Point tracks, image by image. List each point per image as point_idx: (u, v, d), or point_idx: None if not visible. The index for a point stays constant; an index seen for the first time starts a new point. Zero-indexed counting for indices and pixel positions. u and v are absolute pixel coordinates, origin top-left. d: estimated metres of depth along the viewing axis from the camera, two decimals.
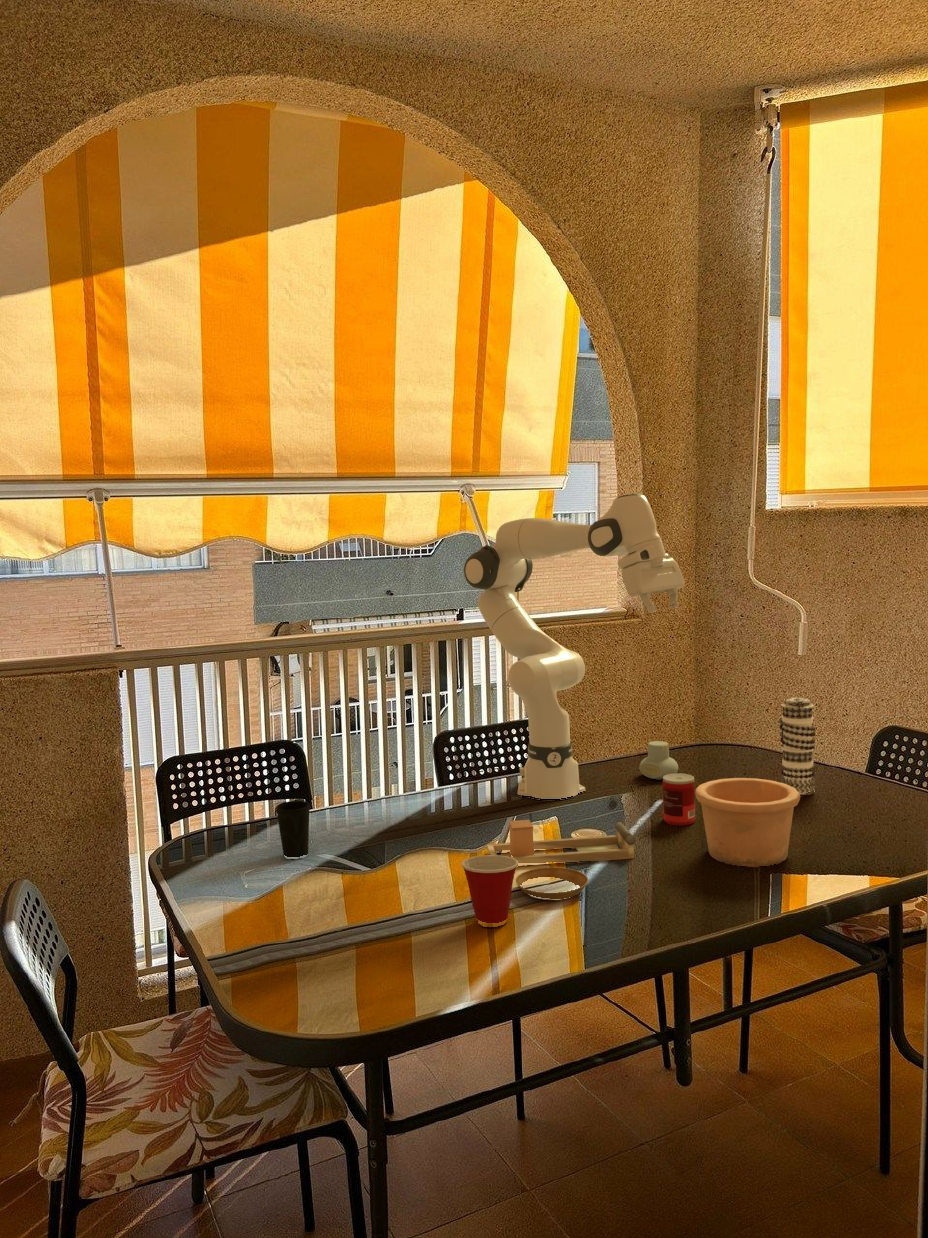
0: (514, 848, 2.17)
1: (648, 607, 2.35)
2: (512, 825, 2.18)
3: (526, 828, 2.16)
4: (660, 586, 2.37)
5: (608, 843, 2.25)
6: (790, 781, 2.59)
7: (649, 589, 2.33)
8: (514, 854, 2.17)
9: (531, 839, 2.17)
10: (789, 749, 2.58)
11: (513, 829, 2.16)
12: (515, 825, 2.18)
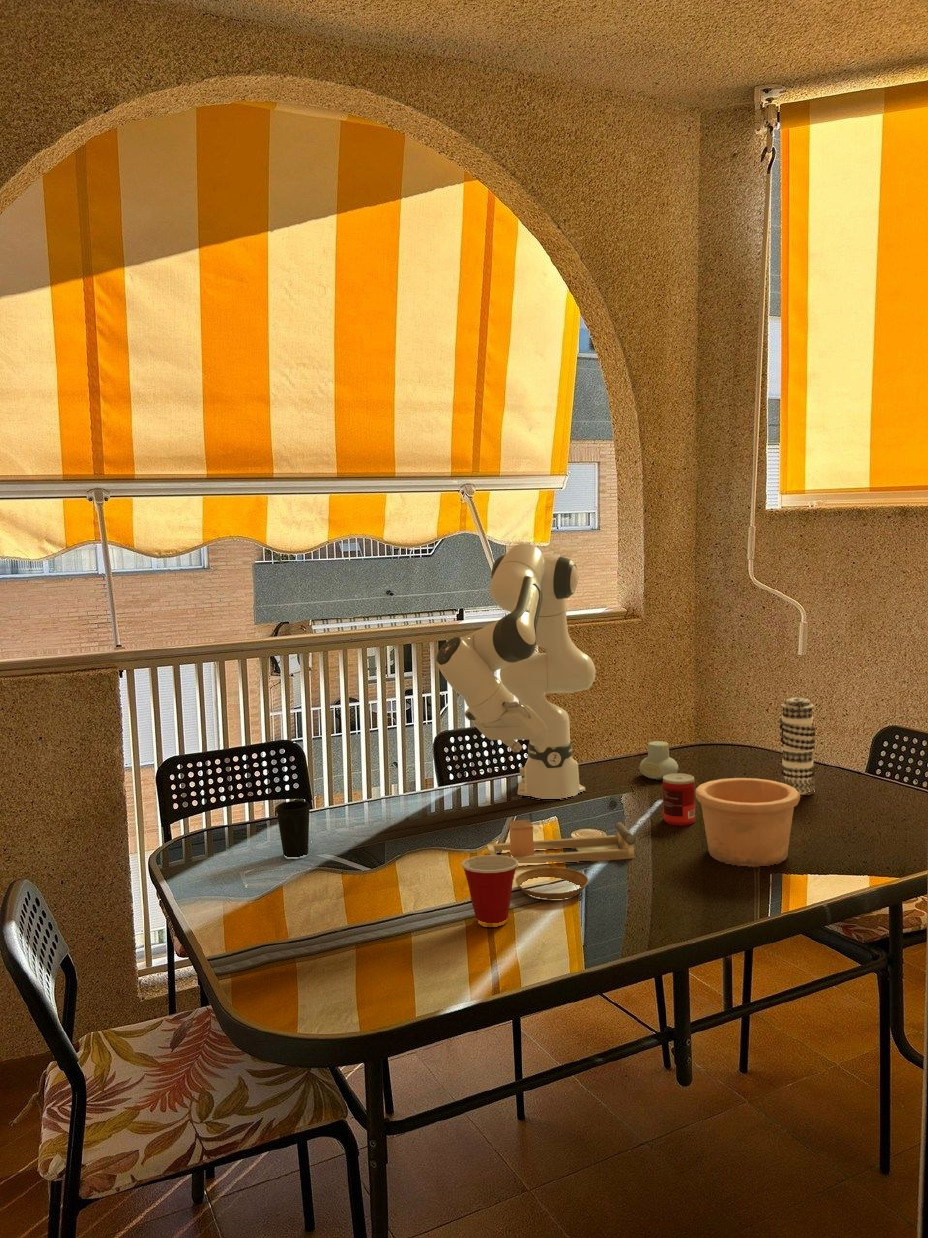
0: (514, 848, 2.17)
1: None
2: (512, 825, 2.18)
3: (526, 828, 2.16)
4: (507, 738, 2.11)
5: (608, 843, 2.25)
6: (790, 781, 2.59)
7: (496, 738, 2.16)
8: (514, 854, 2.17)
9: (531, 839, 2.17)
10: (789, 749, 2.58)
11: (513, 829, 2.16)
12: (515, 825, 2.18)
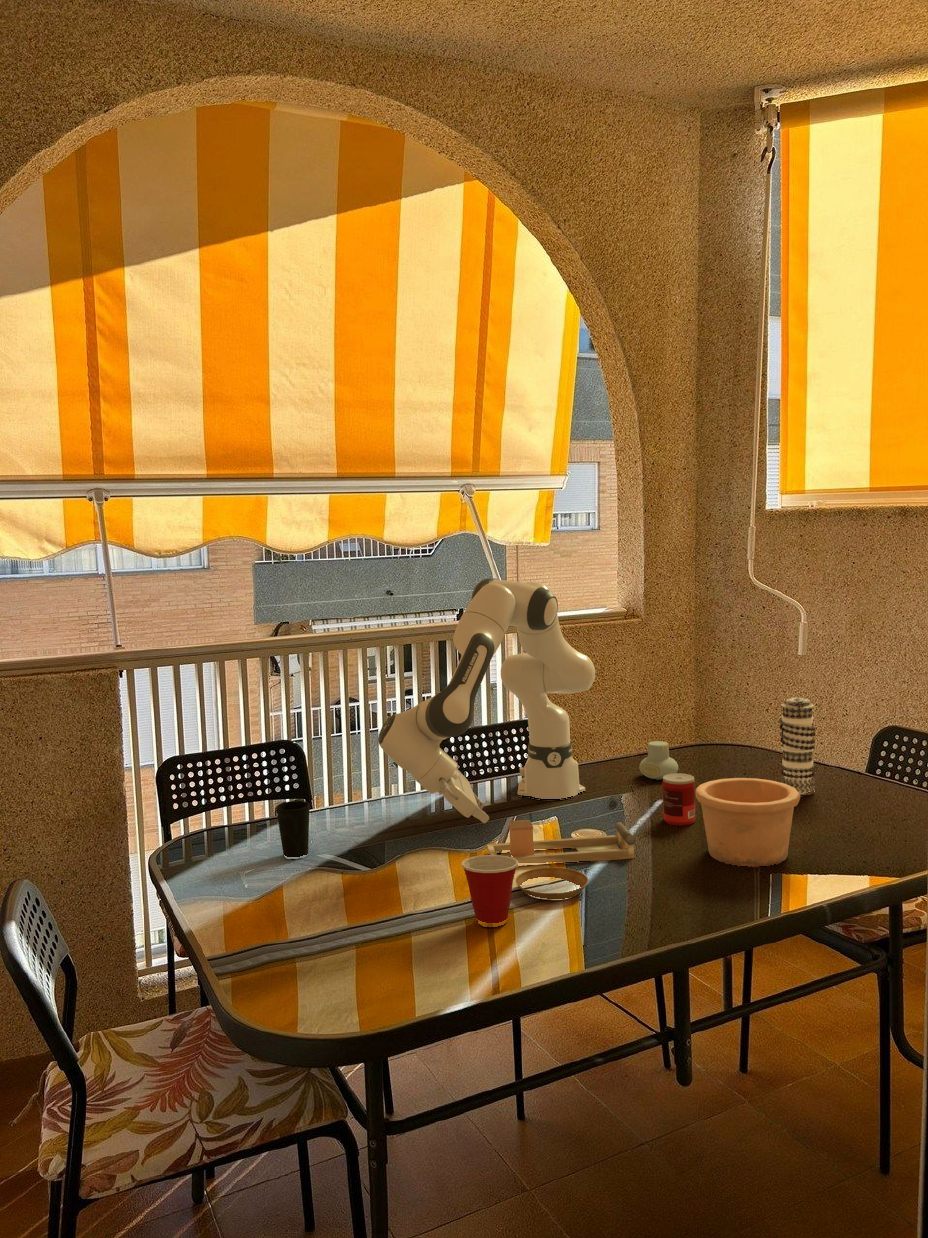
0: (514, 848, 2.17)
1: None
2: (512, 825, 2.18)
3: (526, 828, 2.16)
4: None
5: (608, 843, 2.25)
6: (790, 781, 2.59)
7: None
8: (514, 854, 2.17)
9: (531, 839, 2.17)
10: (789, 749, 2.58)
11: (513, 829, 2.16)
12: (515, 825, 2.18)
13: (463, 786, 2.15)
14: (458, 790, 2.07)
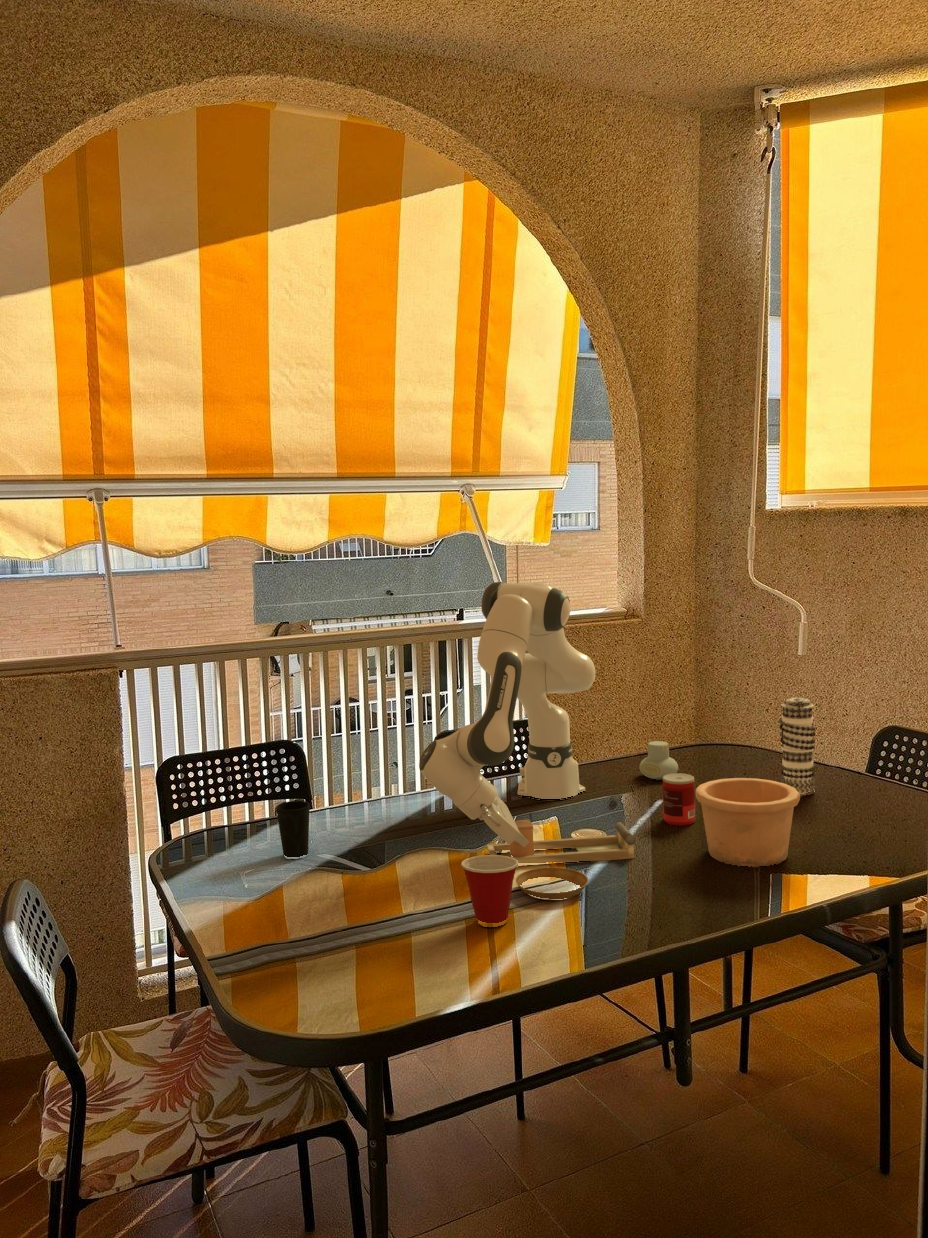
0: (514, 848, 2.17)
1: None
2: None
3: (526, 828, 2.16)
4: None
5: (608, 843, 2.25)
6: (790, 781, 2.59)
7: None
8: (514, 854, 2.17)
9: (531, 838, 2.17)
10: (789, 749, 2.58)
11: None
12: None
13: (503, 812, 2.16)
14: (500, 817, 2.08)
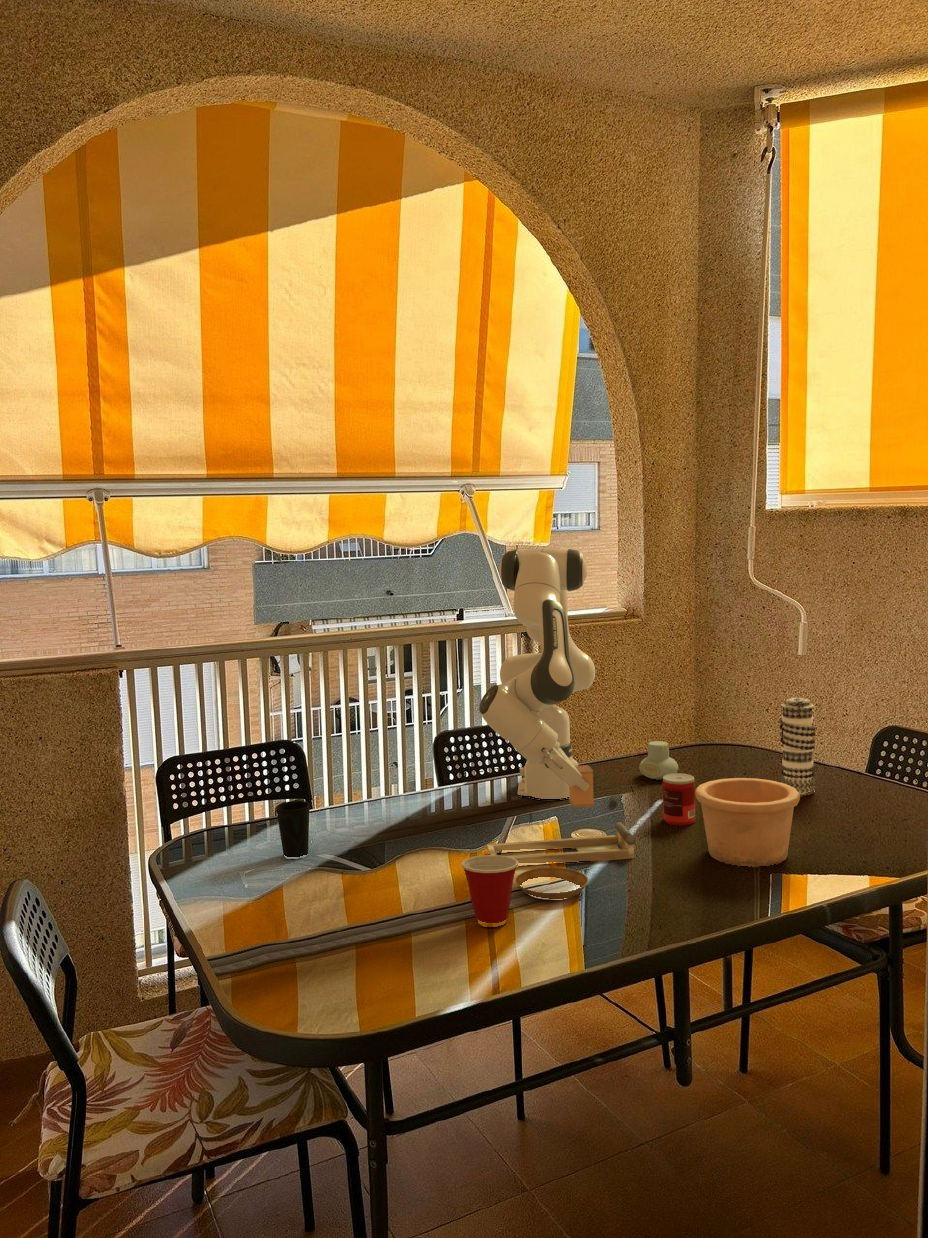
0: (574, 792, 2.17)
1: None
2: None
3: (587, 773, 2.17)
4: None
5: (608, 843, 2.25)
6: (790, 781, 2.59)
7: None
8: (574, 798, 2.17)
9: (591, 783, 2.17)
10: (789, 749, 2.58)
11: None
12: None
13: (564, 756, 2.16)
14: (562, 759, 2.09)
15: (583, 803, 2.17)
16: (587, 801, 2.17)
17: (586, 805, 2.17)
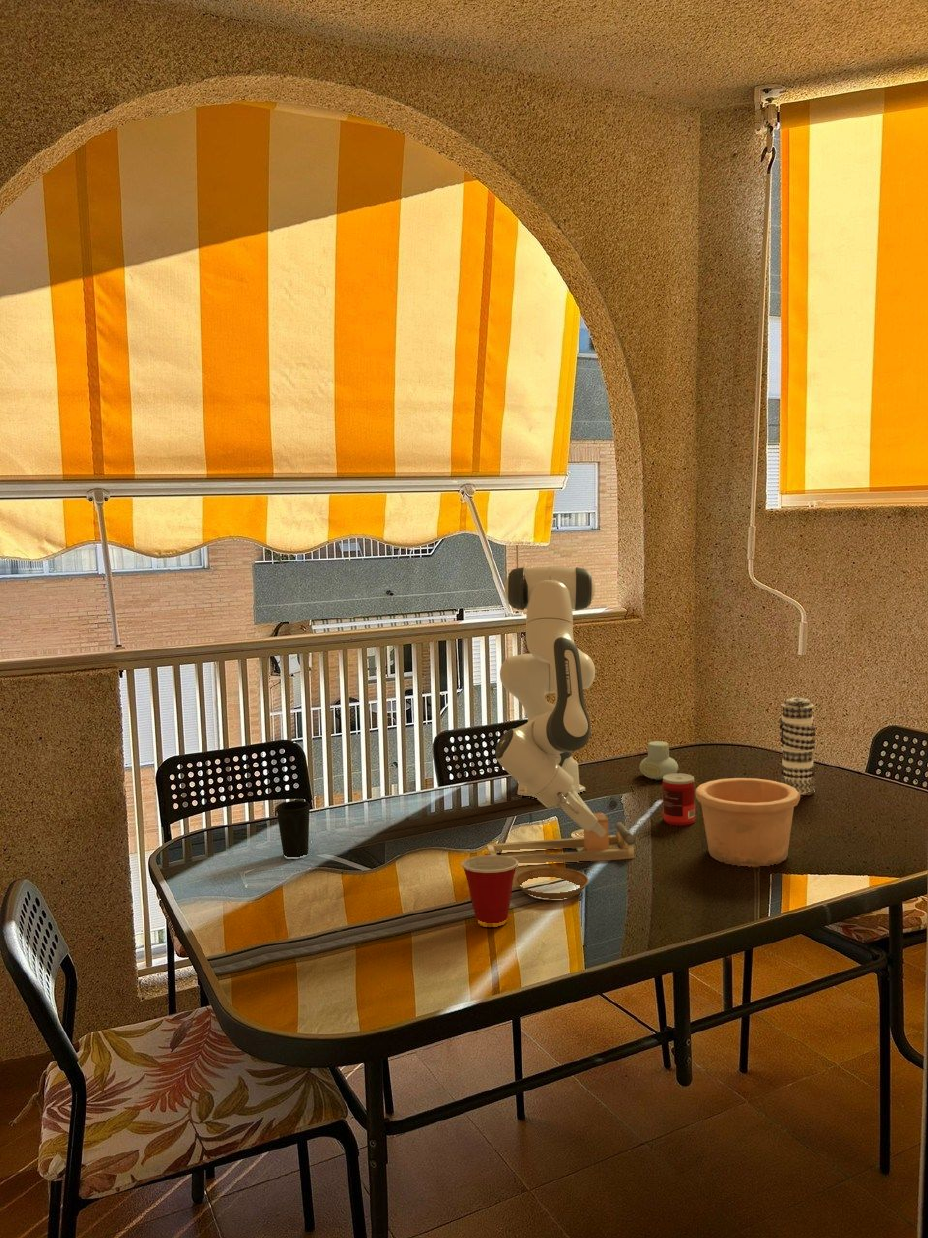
0: (590, 841, 2.18)
1: None
2: None
3: (602, 821, 2.18)
4: None
5: None
6: (790, 781, 2.59)
7: None
8: (589, 847, 2.18)
9: (606, 831, 2.18)
10: (789, 749, 2.58)
11: None
12: None
13: (579, 800, 2.17)
14: (579, 804, 2.10)
15: None
16: None
17: None
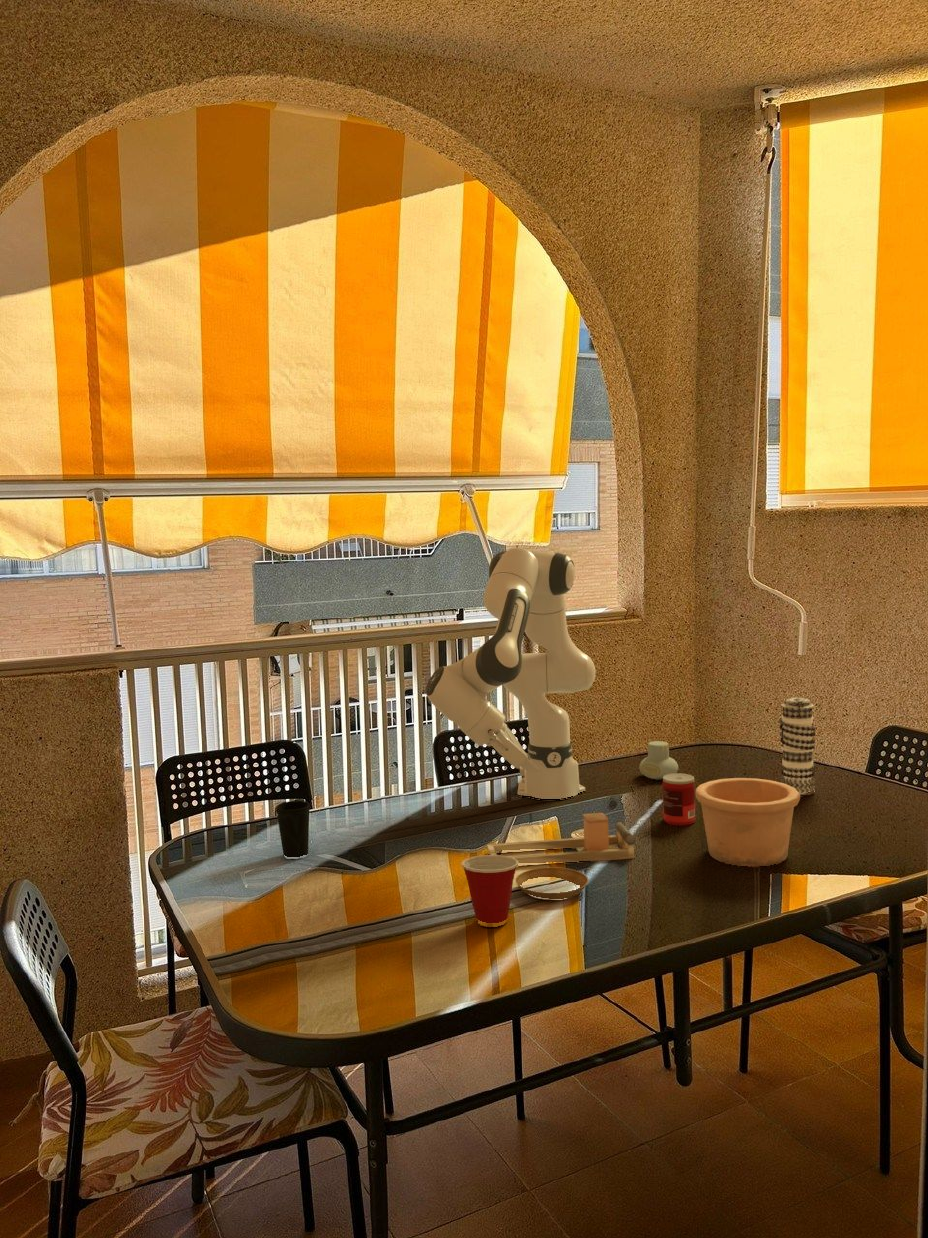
0: (590, 841, 2.18)
1: None
2: (587, 818, 2.19)
3: (602, 821, 2.18)
4: None
5: None
6: (790, 781, 2.59)
7: (505, 750, 2.23)
8: (589, 847, 2.18)
9: (606, 831, 2.18)
10: (789, 749, 2.58)
11: (589, 822, 2.18)
12: (590, 818, 2.19)
13: (511, 738, 2.15)
14: (508, 741, 2.07)
15: None
16: None
17: None
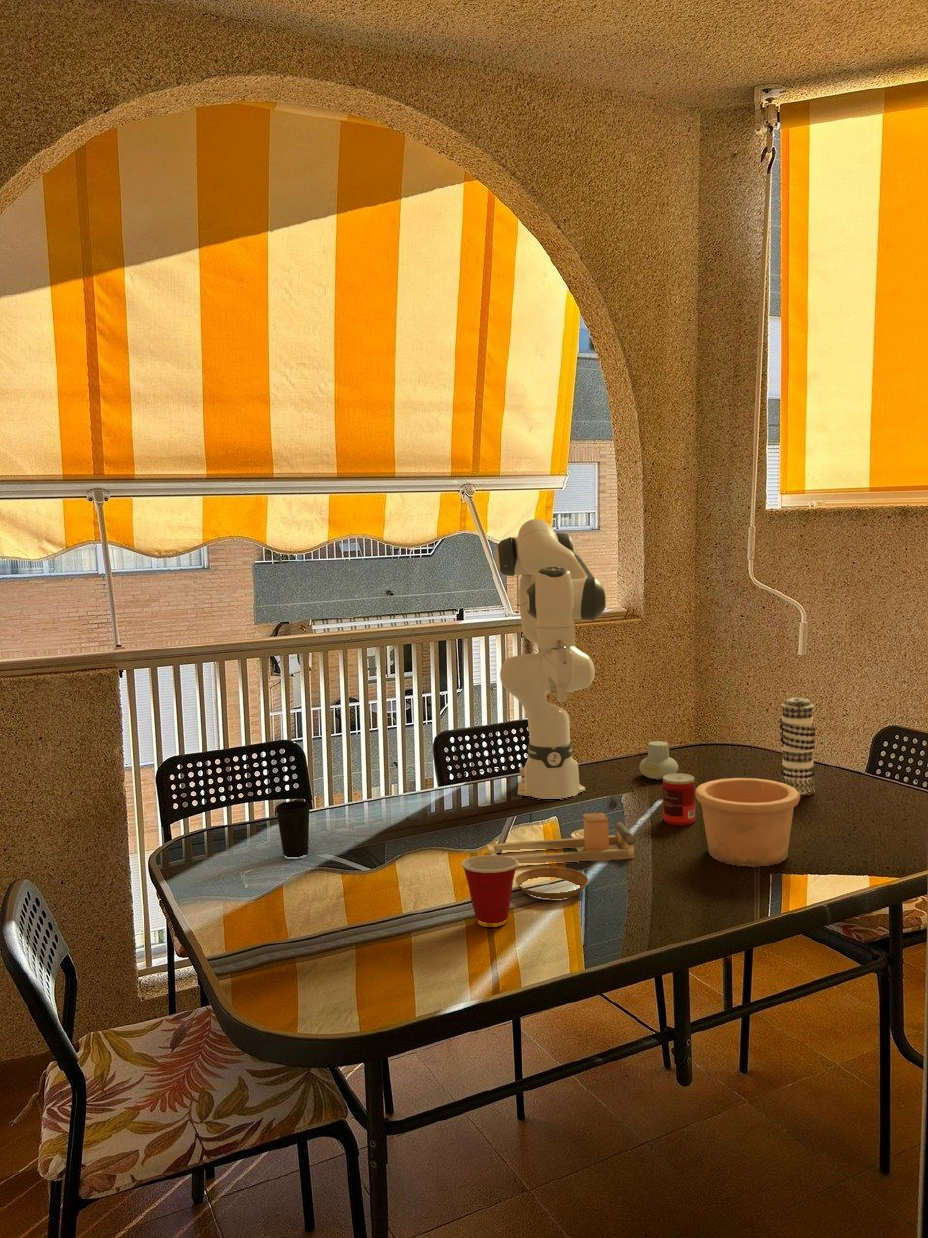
0: (590, 841, 2.18)
1: None
2: (587, 818, 2.19)
3: (602, 821, 2.18)
4: (548, 674, 2.27)
5: None
6: (790, 781, 2.59)
7: (544, 672, 2.31)
8: (589, 847, 2.18)
9: (606, 831, 2.18)
10: (789, 749, 2.58)
11: (589, 822, 2.18)
12: (590, 818, 2.19)
13: None
14: (571, 658, 2.16)
15: None
16: None
17: None
